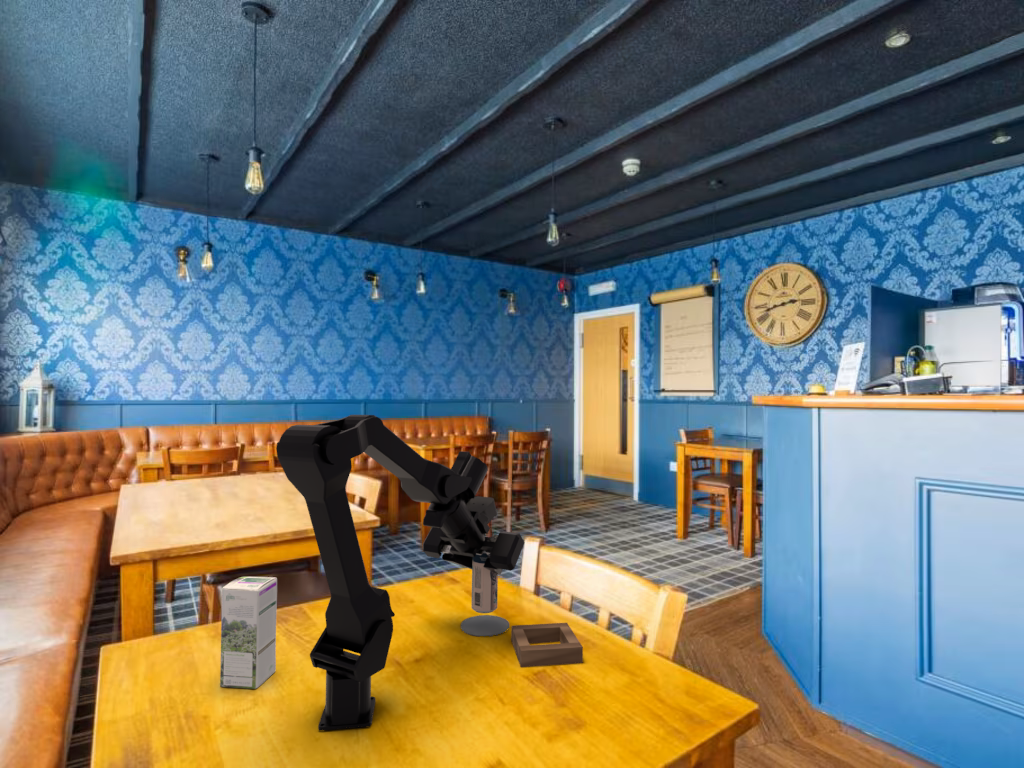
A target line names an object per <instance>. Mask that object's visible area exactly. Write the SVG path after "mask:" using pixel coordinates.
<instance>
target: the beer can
mask: <svg viewBox="0 0 1024 768" xmlns="http://www.w3.org/2000/svg"><path fill="white" fill-rule="evenodd" d="M487 556H488V555H487V554H486V551H484V553H483V555H477V554H476V555H475V557H472V569H471V609H472V610H473V611H475V612H476V613H479V614H491V613H493V612H494V611H496V610H497V609H498V593H499V592H498V590H499V589H498V588H499V587H498V586H499V585H498V584H499V583H498V582H499V581H498V580H499V579H498V578H499V577H498V576H499V575H498V574H496V573H494V572H492V571H490V570H488V569H486V568H484V567H483V566H484V564H485V561H486V559H487Z"/></svg>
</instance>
